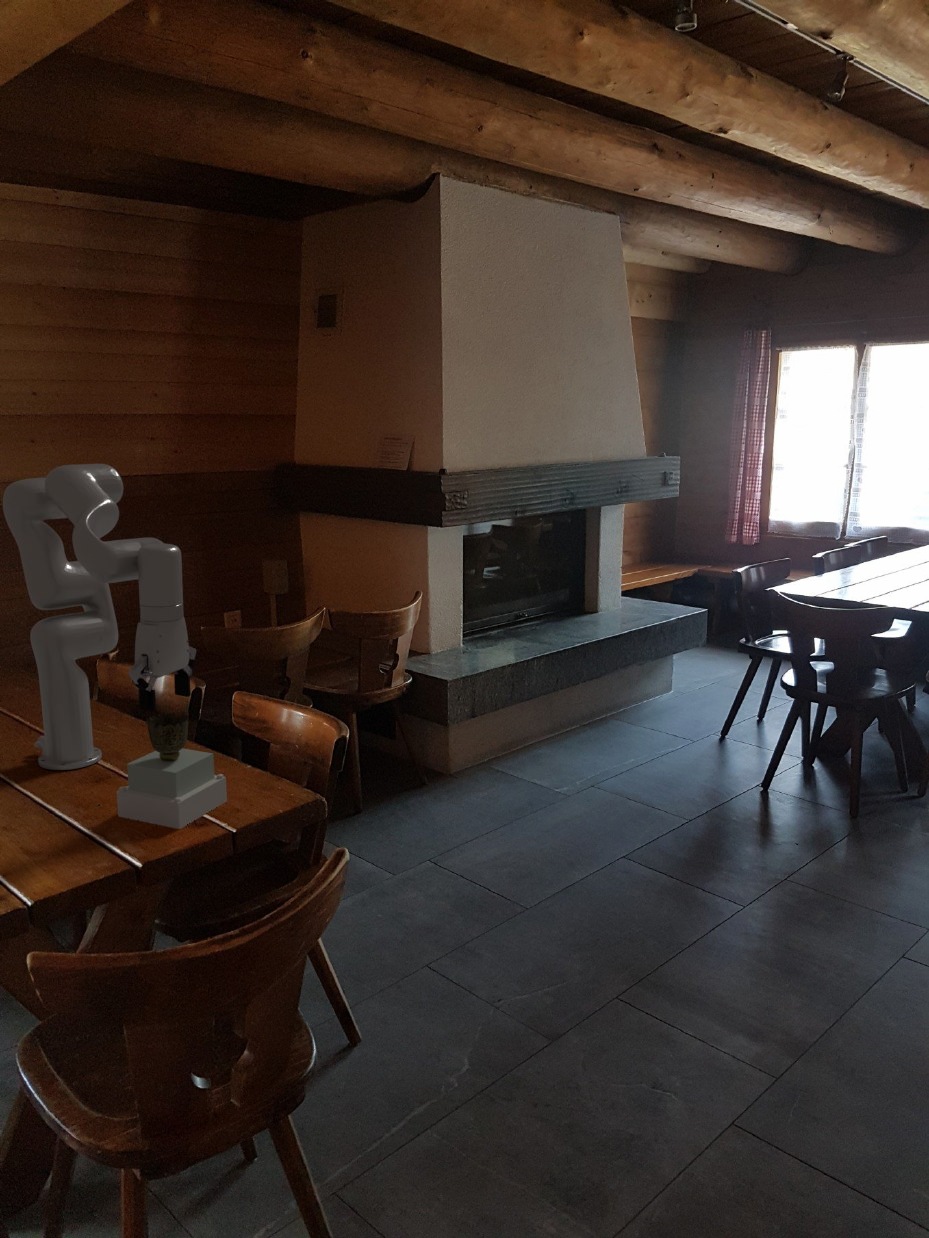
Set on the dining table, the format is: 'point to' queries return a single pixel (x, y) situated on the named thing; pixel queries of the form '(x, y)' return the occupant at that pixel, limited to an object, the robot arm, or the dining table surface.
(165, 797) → the grey stacking block
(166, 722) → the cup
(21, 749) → the dining table surface
